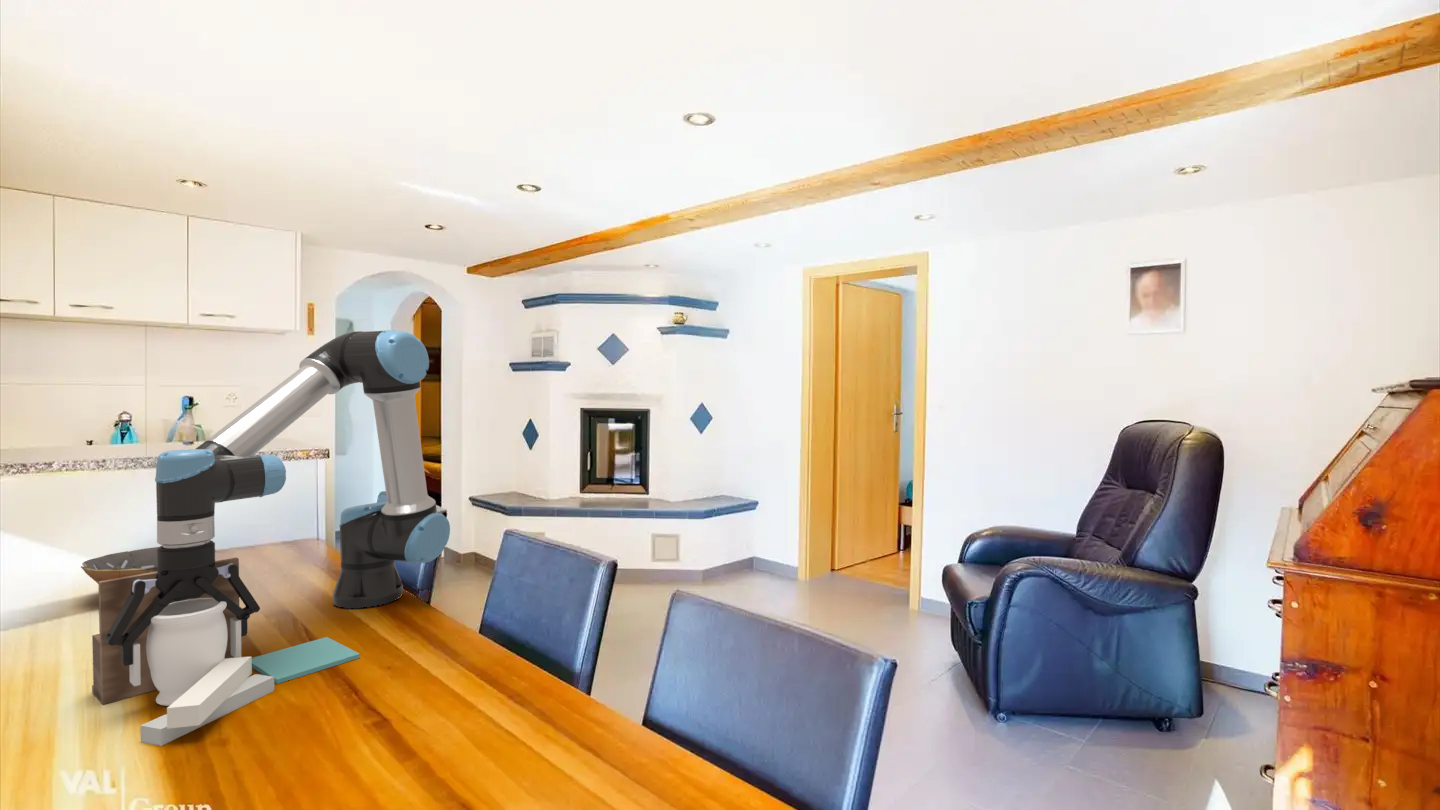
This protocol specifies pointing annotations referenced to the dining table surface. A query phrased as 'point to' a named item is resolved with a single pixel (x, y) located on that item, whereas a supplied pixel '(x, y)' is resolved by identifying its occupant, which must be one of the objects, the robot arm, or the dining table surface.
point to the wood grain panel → (107, 664)
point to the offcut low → (241, 696)
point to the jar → (185, 645)
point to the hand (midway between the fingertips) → (188, 669)
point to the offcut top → (209, 692)
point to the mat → (303, 659)
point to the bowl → (122, 564)
